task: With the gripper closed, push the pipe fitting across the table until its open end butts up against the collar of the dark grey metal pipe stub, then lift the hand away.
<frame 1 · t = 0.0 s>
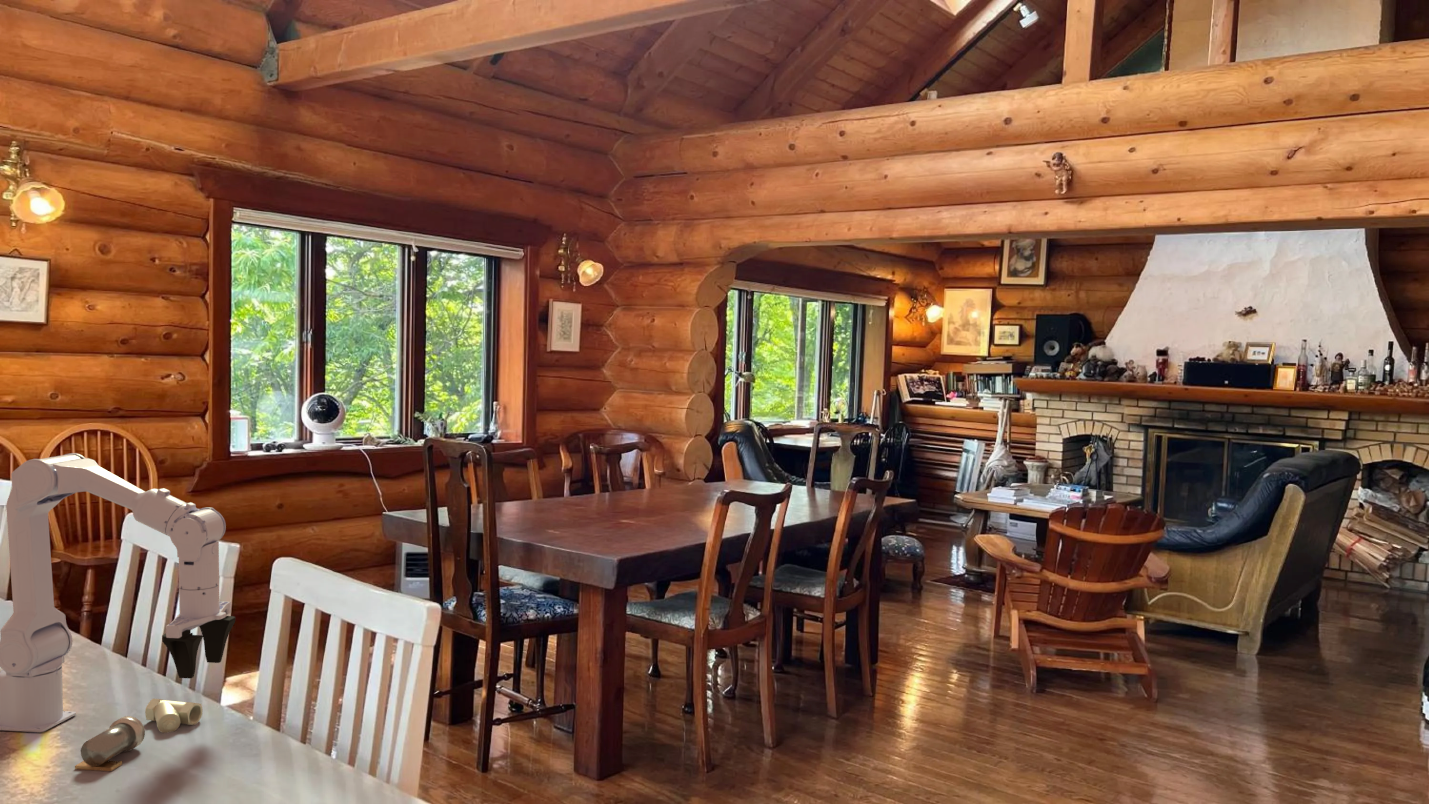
hand: (200, 669, 164), 10 cm above the table, tool pointing down, fingers open, 7 cm apart
pipe fitting: (166, 728, 167), on the table
pipe stub: (112, 758, 153), on the table
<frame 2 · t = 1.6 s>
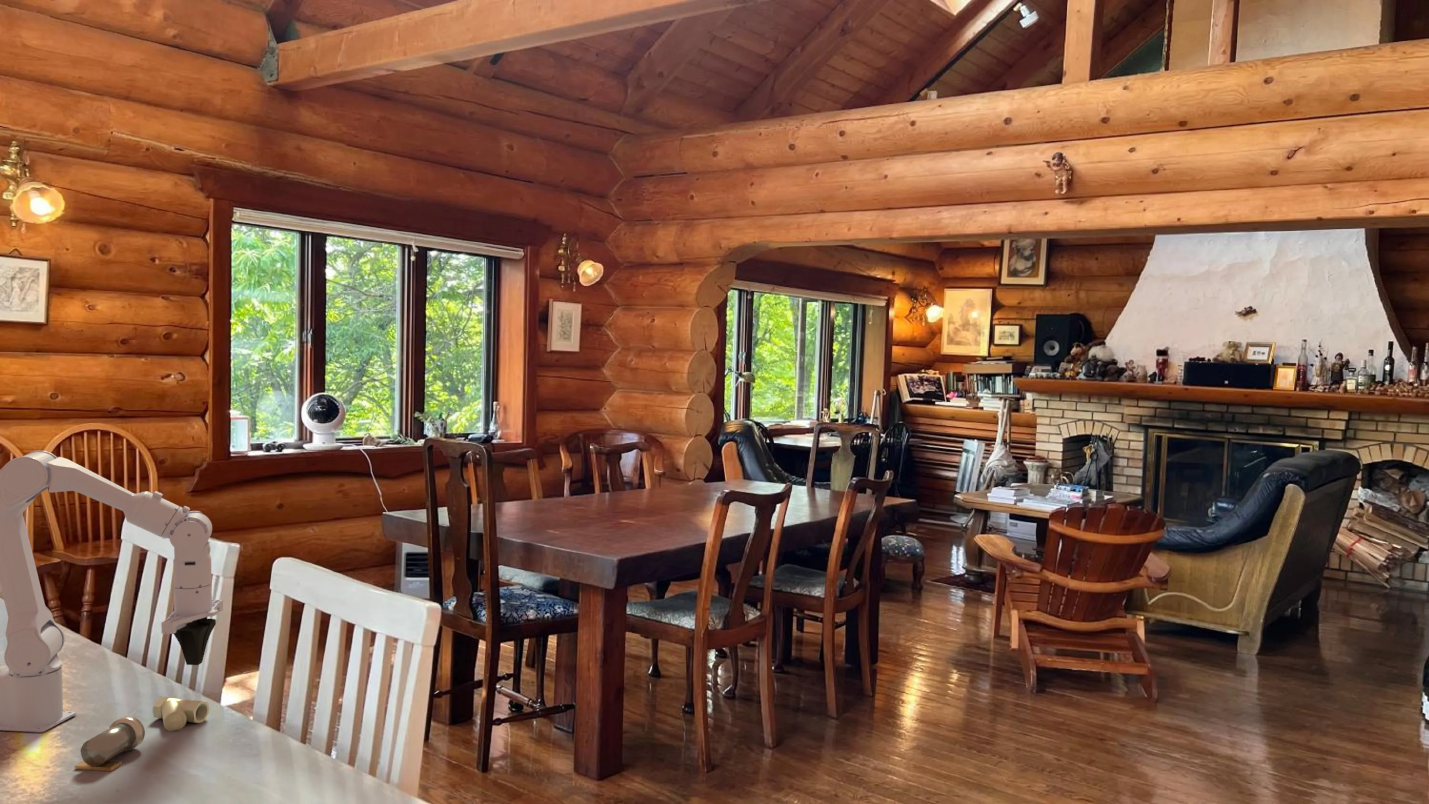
hand: (194, 663, 174), 8 cm above the table, tool pointing down, fingers closed
pipe fitting: (173, 725, 168), on the table
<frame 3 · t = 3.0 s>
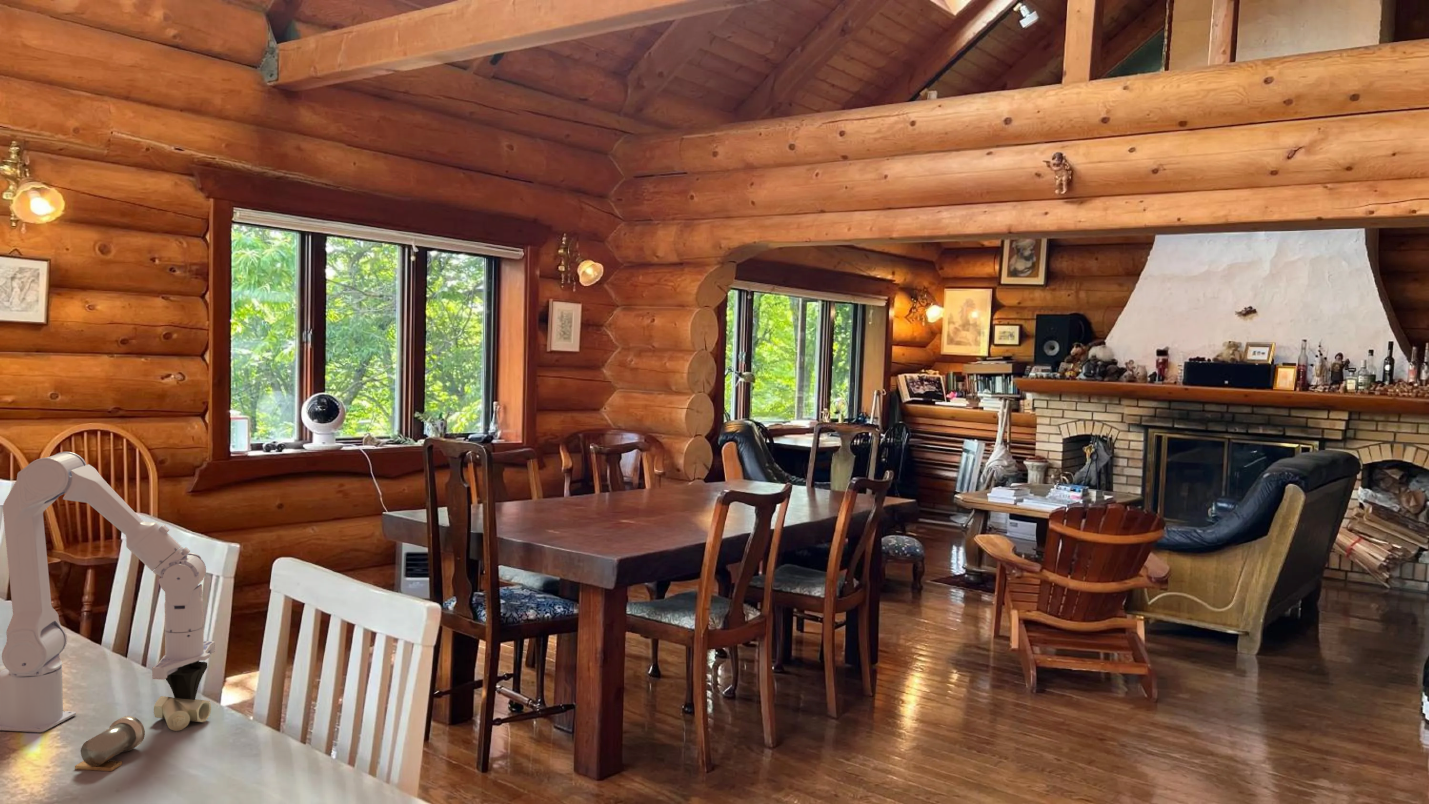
hand: (185, 707, 172), 1 cm above the table, tool pointing down, fingers closed
pipe fitting: (175, 725, 167), on the table, touching gripper
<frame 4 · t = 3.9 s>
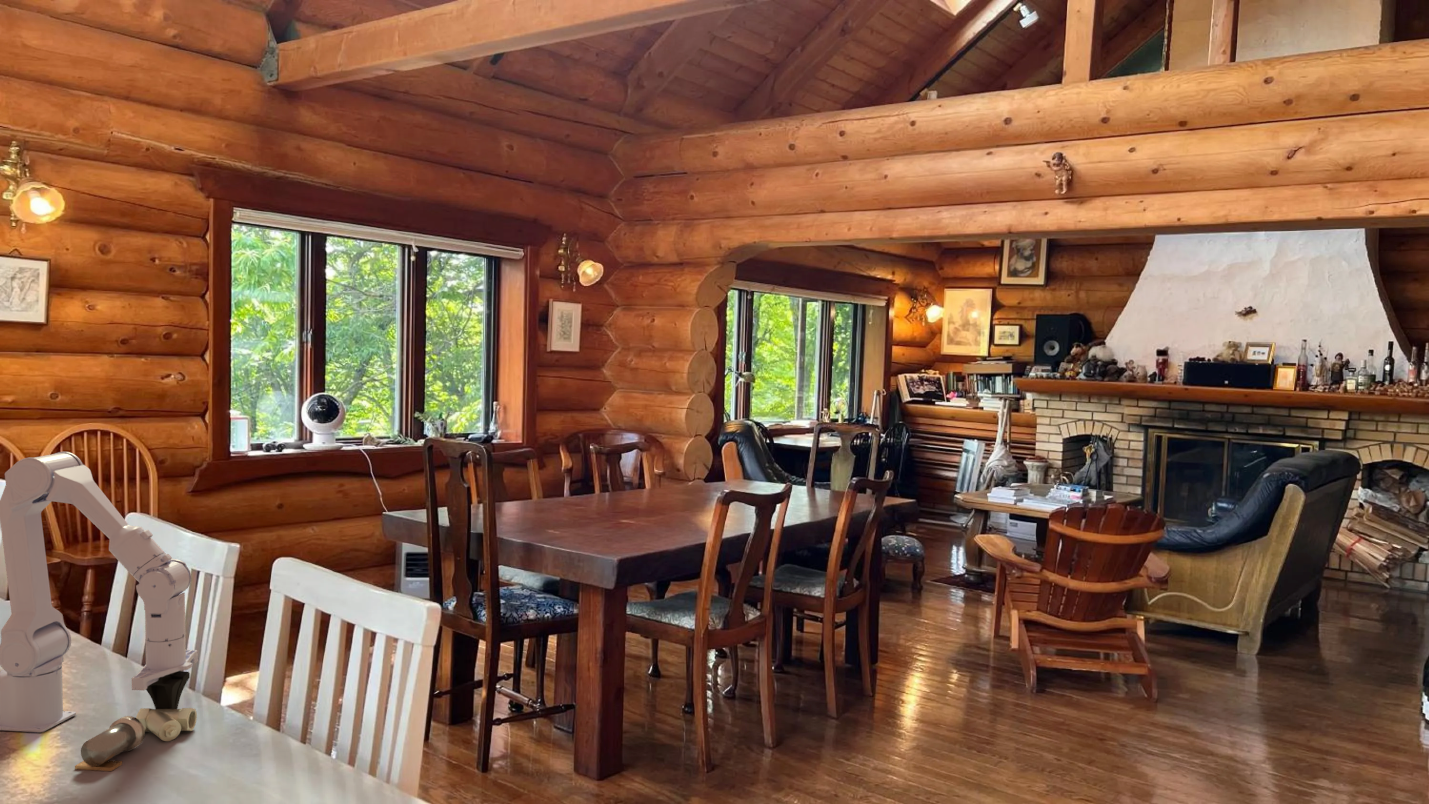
hand: (166, 718, 167), 1 cm above the table, tool pointing down, fingers closed
pipe fitting: (161, 736, 162), on the table, touching gripper
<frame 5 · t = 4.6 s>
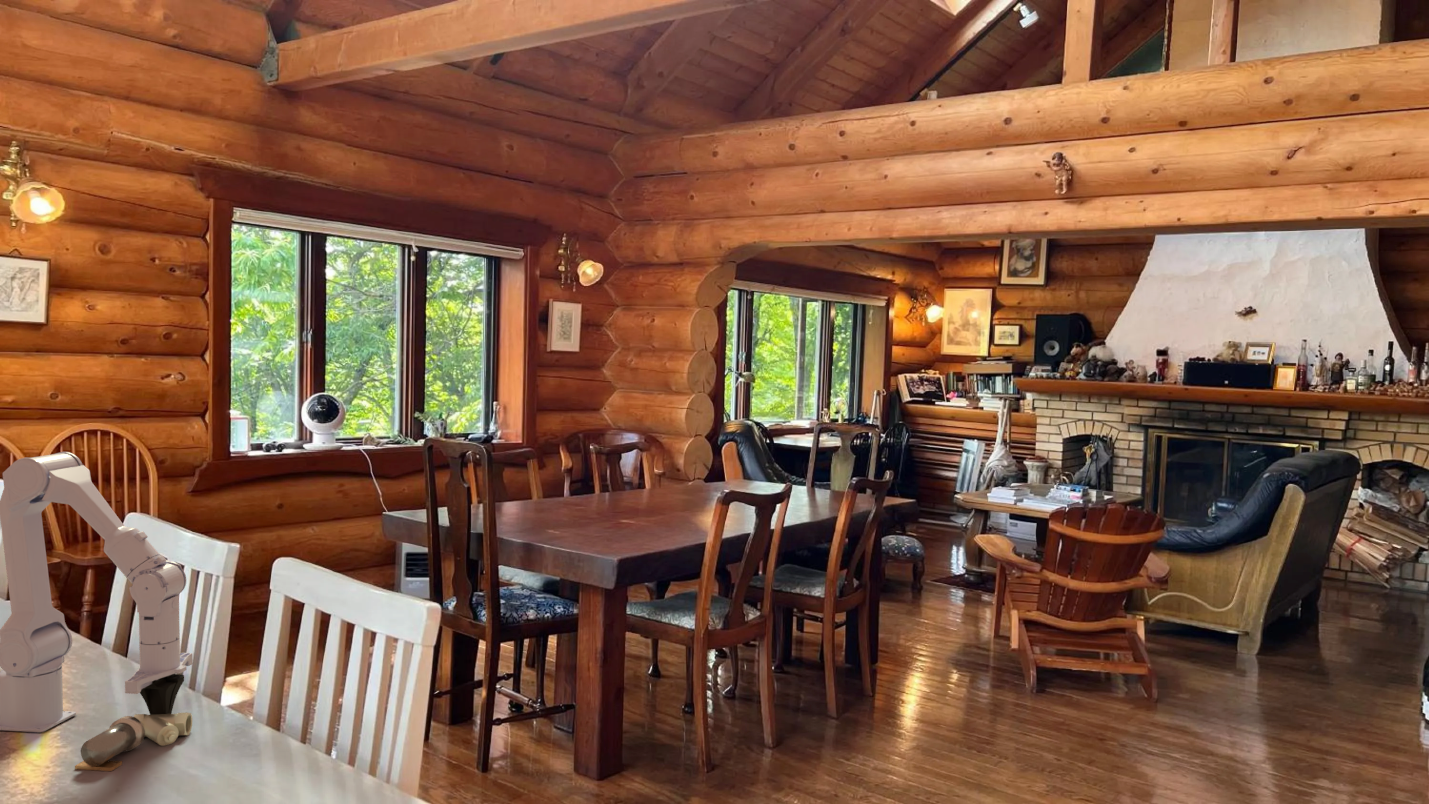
hand: (161, 722, 165), 1 cm above the table, tool pointing down, fingers closed
pipe fitting: (158, 742, 161), on the table
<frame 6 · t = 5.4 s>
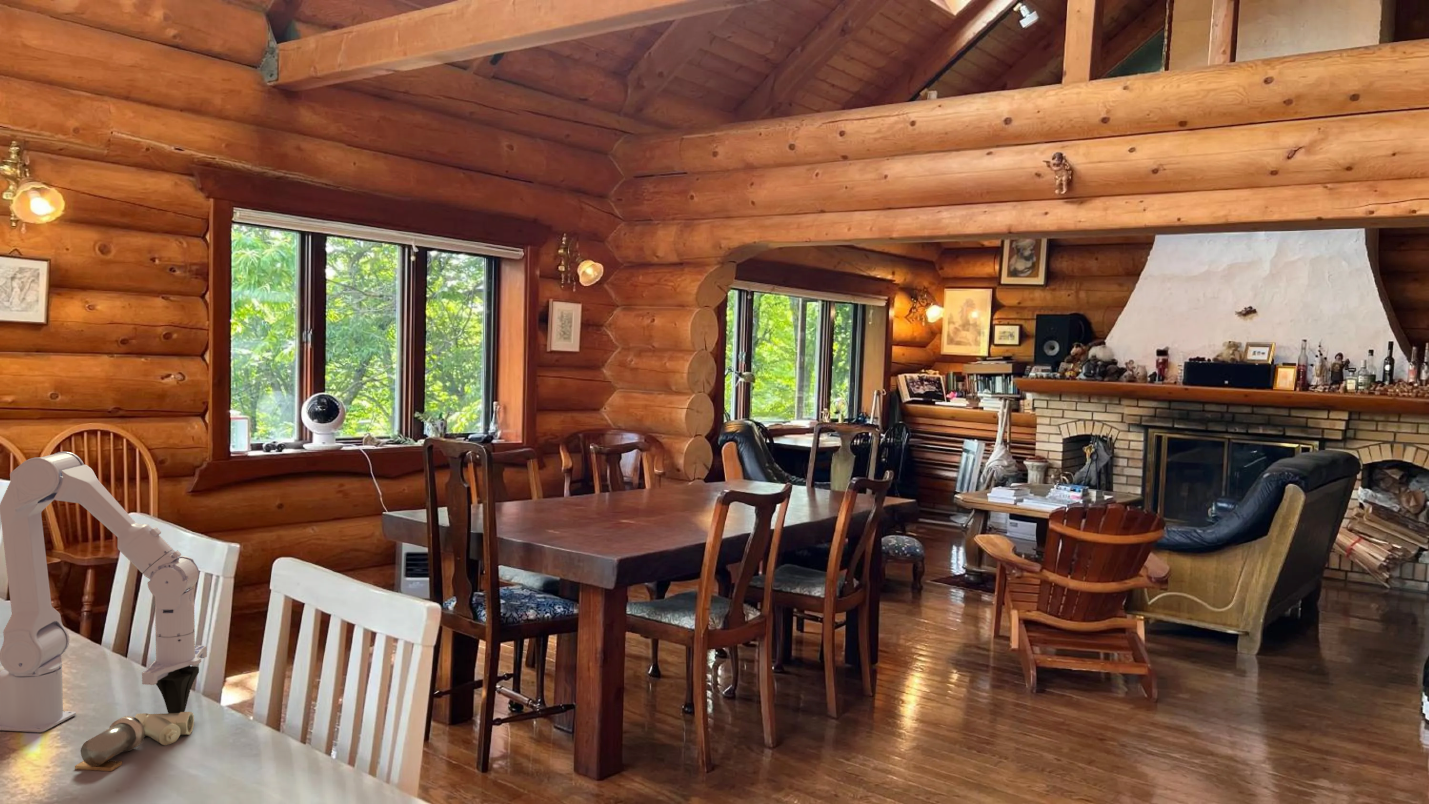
hand: (176, 713, 169), 1 cm above the table, tool pointing down, fingers closed
nothing on the table moved.
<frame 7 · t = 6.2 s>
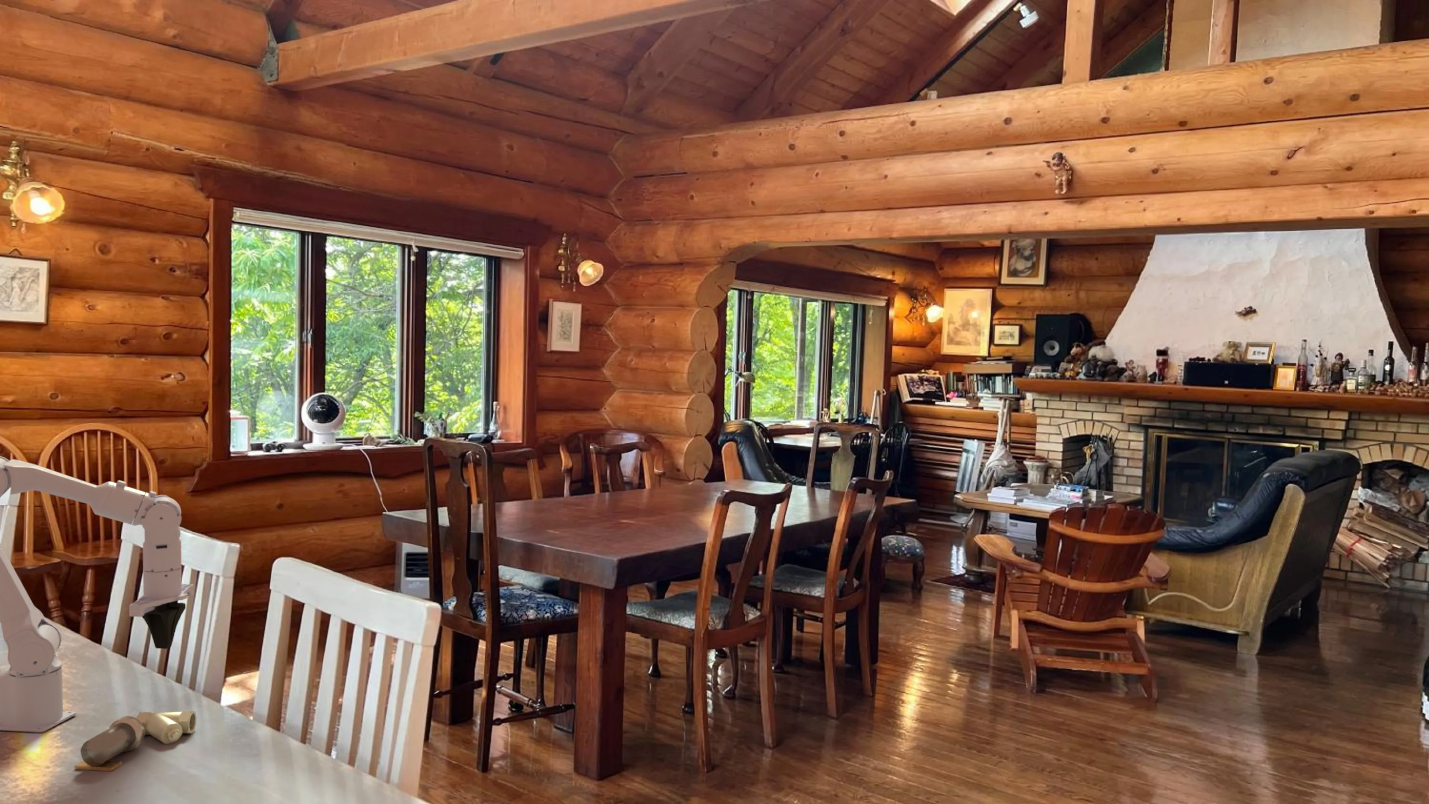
hand: (163, 647, 174), 10 cm above the table, tool pointing down, fingers closed
nothing on the table moved.
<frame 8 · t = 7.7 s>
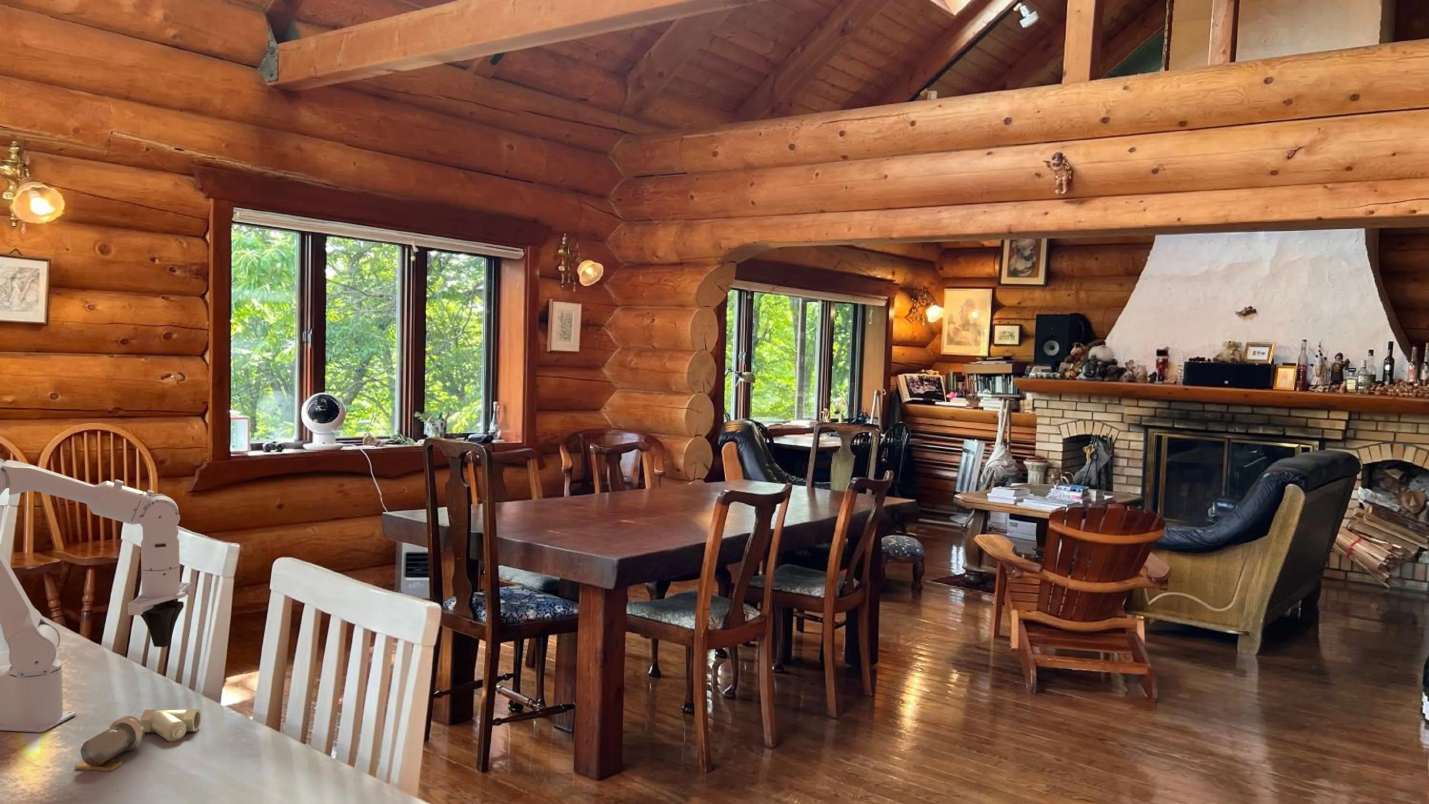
hand: (161, 645, 175), 10 cm above the table, tool pointing down, fingers closed
pipe fitting: (166, 737, 163), on the table
at the end: pipe fitting inside the target area (3.7 cm from its centre), on the table; pipe fitting moved 4.3 cm from its start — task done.
